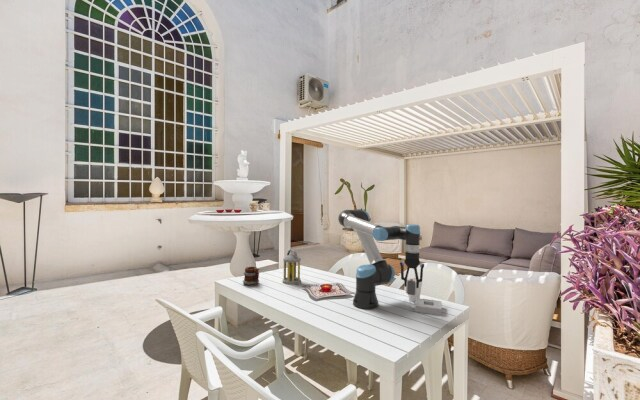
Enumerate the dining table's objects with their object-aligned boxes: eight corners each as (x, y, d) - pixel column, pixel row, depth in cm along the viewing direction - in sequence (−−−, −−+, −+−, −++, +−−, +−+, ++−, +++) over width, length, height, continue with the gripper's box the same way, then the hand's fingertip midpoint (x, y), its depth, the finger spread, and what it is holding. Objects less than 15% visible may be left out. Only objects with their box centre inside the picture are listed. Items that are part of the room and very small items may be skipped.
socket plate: (415, 311, 173) (415, 305, 173) (416, 303, 186) (416, 298, 186) (441, 315, 168) (441, 309, 168) (441, 307, 181) (441, 301, 181)
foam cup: (422, 303, 187) (422, 282, 187) (407, 302, 189) (407, 281, 189) (420, 298, 196) (420, 278, 196) (405, 297, 198) (406, 277, 198)
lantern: (278, 281, 231) (279, 249, 231) (293, 278, 241) (293, 247, 241) (289, 285, 221) (290, 251, 221) (304, 282, 230) (305, 249, 230)
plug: (407, 294, 170) (407, 279, 170) (407, 292, 173) (408, 278, 173) (414, 295, 168) (415, 280, 168) (415, 293, 172) (415, 278, 172)
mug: (252, 280, 233) (254, 261, 231) (263, 287, 224) (265, 267, 222) (239, 282, 225) (241, 263, 223) (249, 290, 215) (252, 270, 213)
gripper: (396, 251, 170) (395, 292, 171) (428, 254, 164) (427, 297, 165) (397, 249, 177) (396, 289, 178) (428, 252, 171) (427, 292, 172)
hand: (411, 292), depth 171 cm, fingers closed on plug, 4 cm apart
